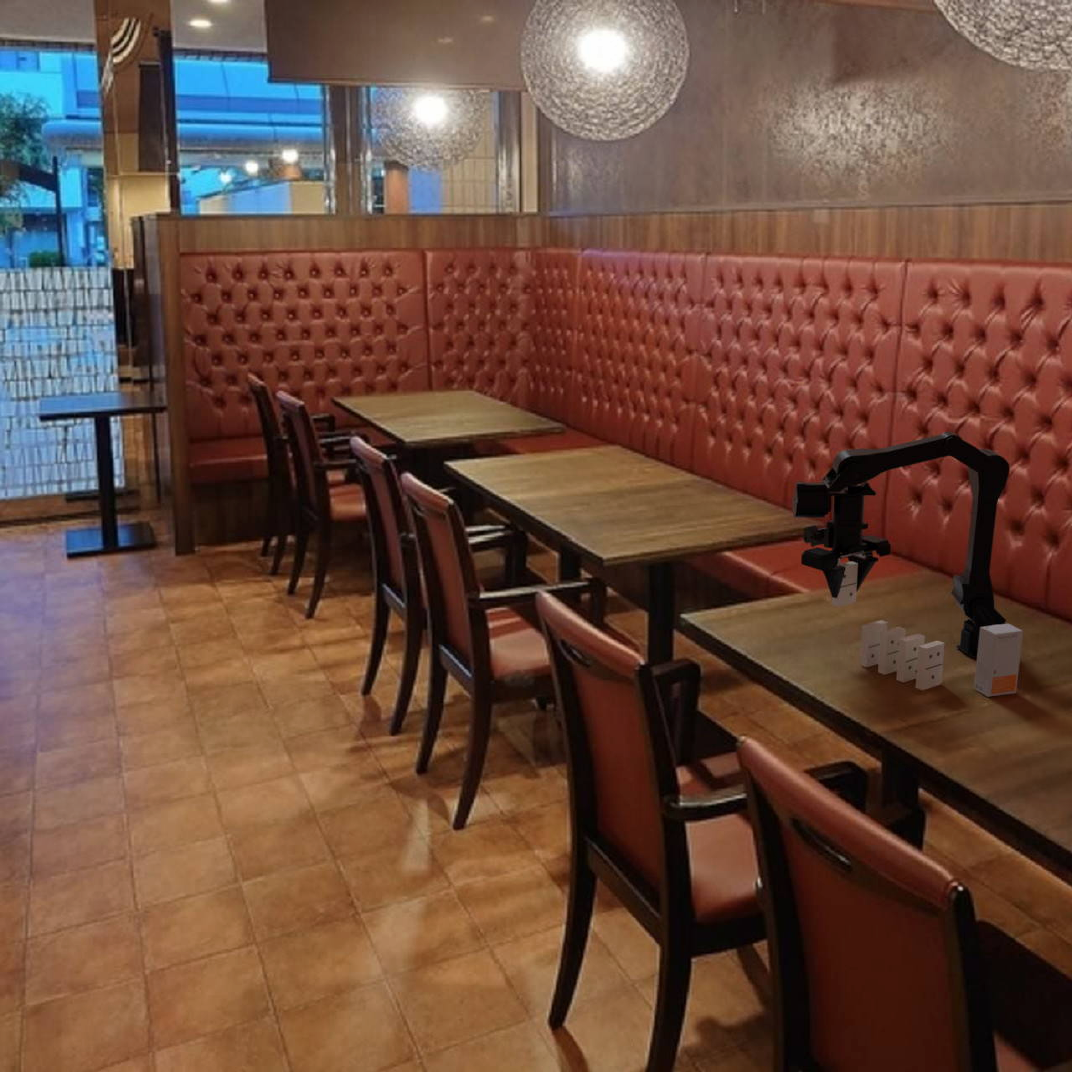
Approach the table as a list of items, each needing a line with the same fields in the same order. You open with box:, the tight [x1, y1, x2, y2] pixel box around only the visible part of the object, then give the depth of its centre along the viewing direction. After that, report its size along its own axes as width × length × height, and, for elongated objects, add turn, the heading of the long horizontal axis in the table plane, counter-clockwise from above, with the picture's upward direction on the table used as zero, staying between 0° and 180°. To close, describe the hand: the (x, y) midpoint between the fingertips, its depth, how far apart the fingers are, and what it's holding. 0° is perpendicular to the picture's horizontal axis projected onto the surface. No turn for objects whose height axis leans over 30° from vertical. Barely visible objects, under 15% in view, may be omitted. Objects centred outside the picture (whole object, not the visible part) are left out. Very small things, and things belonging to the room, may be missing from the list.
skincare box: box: [973, 623, 1024, 698], centre depth 201 cm, size 6×4×12 cm
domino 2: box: [859, 619, 888, 668], centre depth 215 cm, size 2×5×8 cm, turn 122°
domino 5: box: [915, 640, 945, 691], centre depth 204 cm, size 2×5×8 cm, turn 122°
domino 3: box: [877, 626, 907, 676], centre depth 212 cm, size 2×5×8 cm, turn 122°
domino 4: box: [895, 633, 926, 683], centre depth 208 cm, size 2×5×8 cm, turn 122°
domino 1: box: [831, 561, 858, 608], centre depth 219 cm, size 2×5×8 cm, turn 122°
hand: (844, 594), depth 220 cm, fingers closed on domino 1, 5 cm apart
